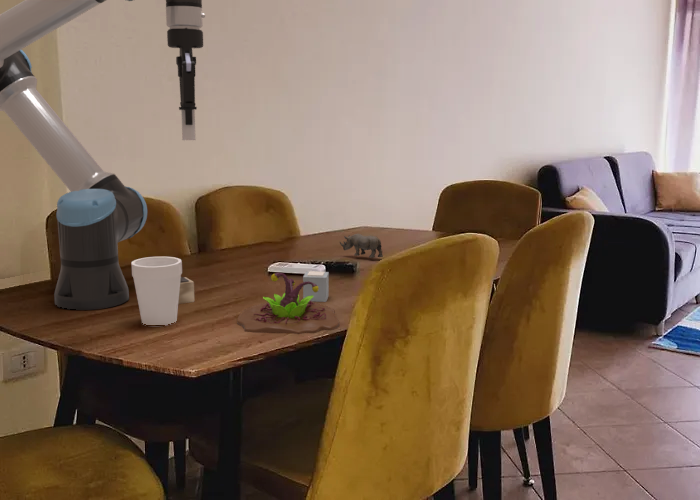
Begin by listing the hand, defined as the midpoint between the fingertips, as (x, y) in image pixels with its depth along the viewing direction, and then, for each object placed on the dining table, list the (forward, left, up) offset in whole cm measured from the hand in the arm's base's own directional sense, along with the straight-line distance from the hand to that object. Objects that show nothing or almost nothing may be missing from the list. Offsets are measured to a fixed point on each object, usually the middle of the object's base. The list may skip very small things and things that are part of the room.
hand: (189, 139), depth 168 cm
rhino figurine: (+49, +29, -35) cm, 66 cm away
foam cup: (-9, -25, -35) cm, 44 cm away
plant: (+15, -31, -35) cm, 49 cm away
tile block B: (+25, -15, -35) cm, 45 cm away
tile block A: (-4, -9, -35) cm, 36 cm away
